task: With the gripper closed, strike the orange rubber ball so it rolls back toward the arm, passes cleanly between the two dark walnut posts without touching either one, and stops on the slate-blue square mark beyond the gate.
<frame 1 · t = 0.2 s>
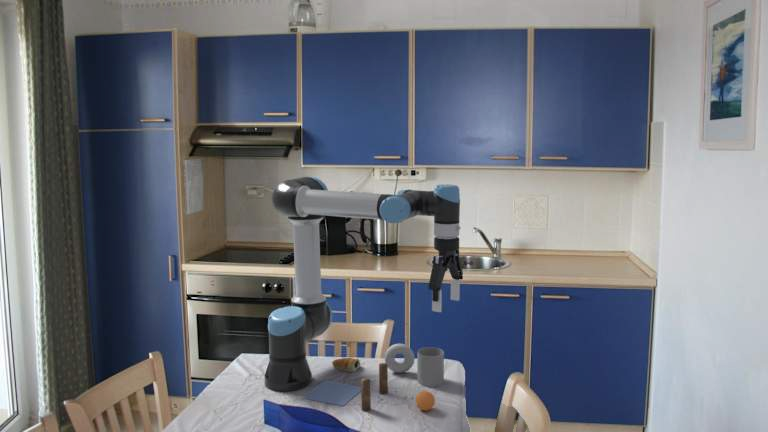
hand: (446, 305, 201), 27 cm above the table, tool pointing down, fingers open, 13 cm apart
post 1: (366, 409, 193), on the table
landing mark: (333, 393, 204), on the table
post 2: (383, 392, 204), on the table
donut: (399, 373, 220), on the table
ball: (425, 400, 192), on the table
pastry: (347, 369, 225), on the table
cup: (430, 382, 213), on the table
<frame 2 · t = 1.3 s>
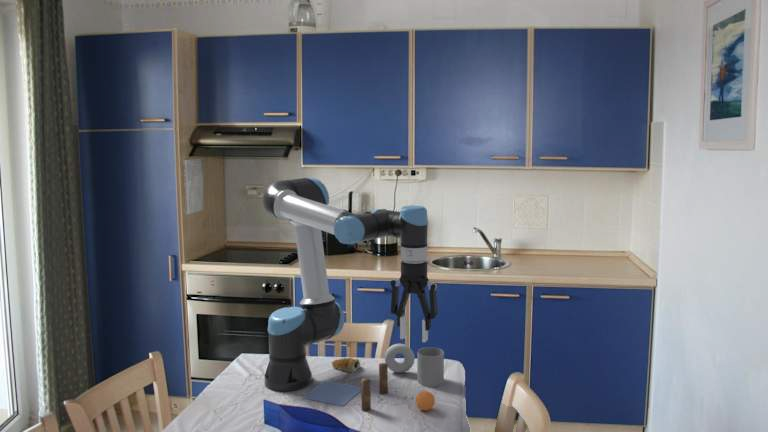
hand: (414, 339, 191), 21 cm above the table, tool pointing down, fingers open, 6 cm apart
nothing on the table moved.
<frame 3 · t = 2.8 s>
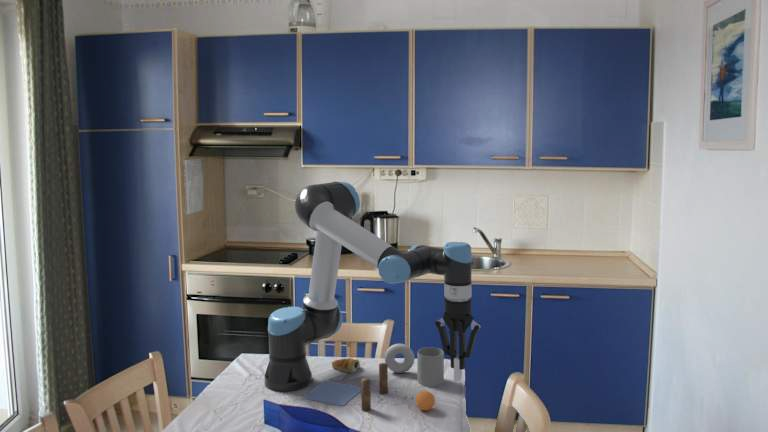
hand: (457, 379, 187), 11 cm above the table, tool pointing down, fingers closed
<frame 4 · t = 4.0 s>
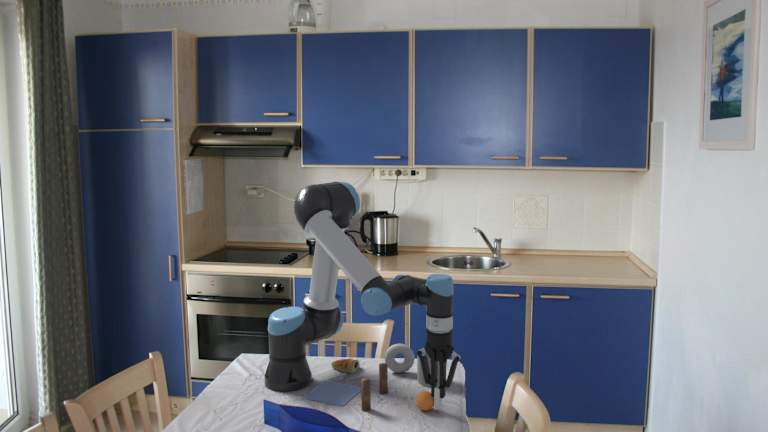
hand: (438, 407, 191), 1 cm above the table, tool pointing down, fingers closed
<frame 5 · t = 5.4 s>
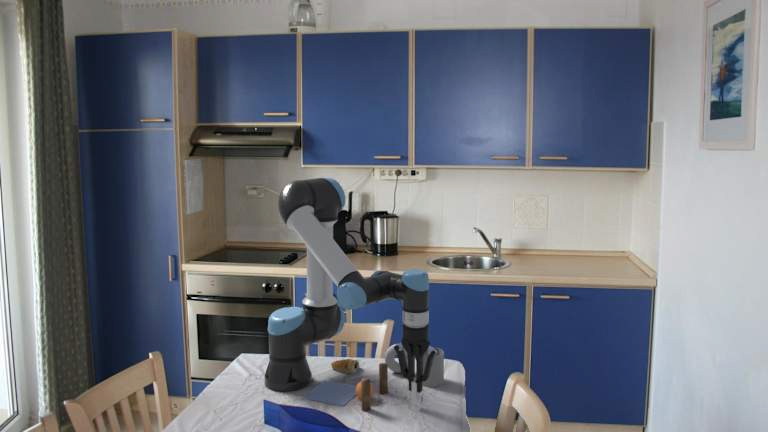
hand: (415, 401, 193), 2 cm above the table, tool pointing down, fingers closed
ball: (364, 390, 200), on the table
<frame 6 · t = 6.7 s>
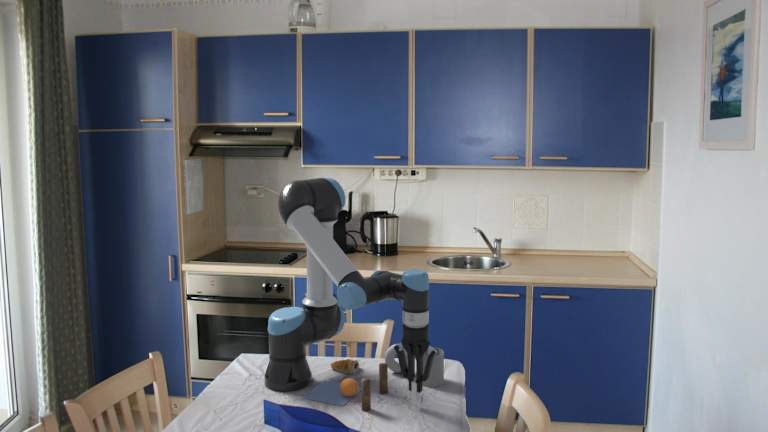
hand: (415, 401, 193), 2 cm above the table, tool pointing down, fingers closed
ball: (349, 387, 202), on the table
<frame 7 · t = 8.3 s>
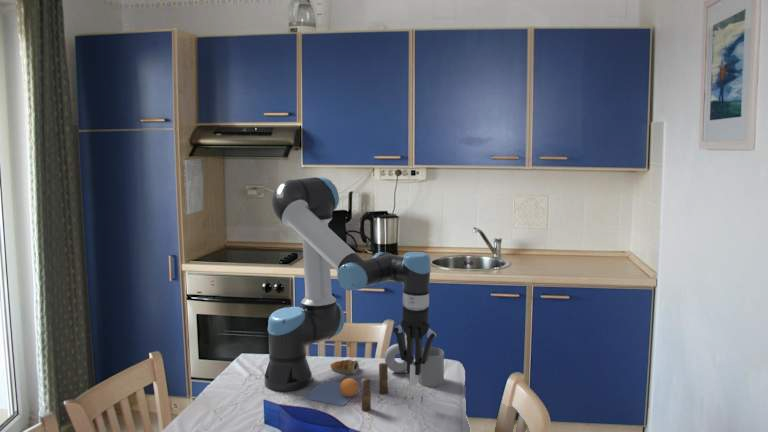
hand: (413, 384, 193), 7 cm above the table, tool pointing down, fingers closed
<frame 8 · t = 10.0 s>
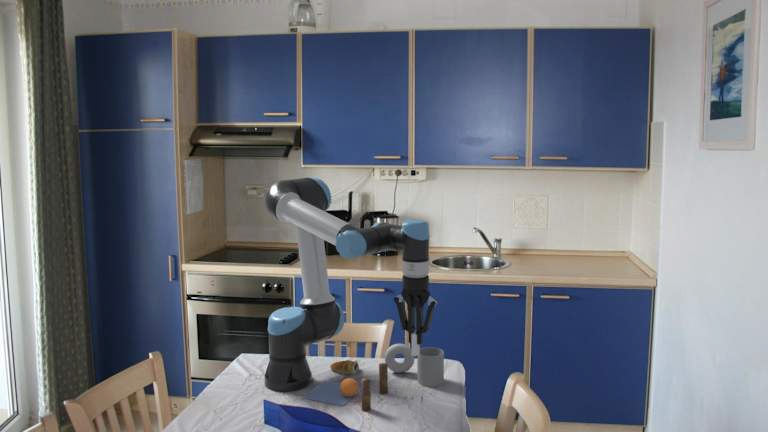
hand: (415, 354, 191), 16 cm above the table, tool pointing down, fingers closed
at the end: ball 5.4 cm from the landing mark (horizontally); ball never touched post 2; ball never touched post 1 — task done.
